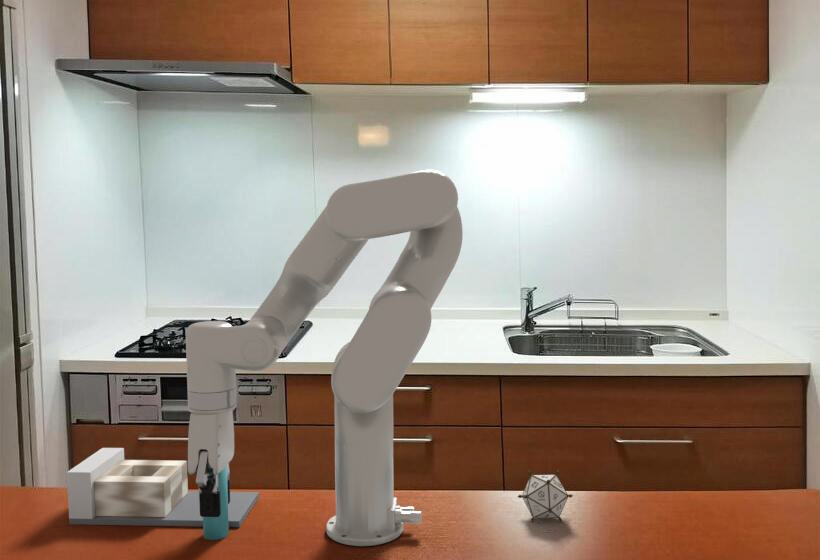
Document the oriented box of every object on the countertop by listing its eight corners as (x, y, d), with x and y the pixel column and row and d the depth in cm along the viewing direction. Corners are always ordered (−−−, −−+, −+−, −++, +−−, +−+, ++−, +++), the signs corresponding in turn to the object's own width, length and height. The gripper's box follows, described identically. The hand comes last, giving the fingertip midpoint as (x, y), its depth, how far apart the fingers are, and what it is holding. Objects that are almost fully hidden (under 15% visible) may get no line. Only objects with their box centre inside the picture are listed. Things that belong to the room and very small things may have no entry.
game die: (549, 535, 129) (575, 484, 132) (560, 538, 121) (588, 483, 123) (503, 508, 130) (530, 457, 133) (511, 509, 122) (540, 455, 124)
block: (187, 492, 137) (186, 460, 136) (165, 516, 126) (164, 482, 125) (123, 491, 137) (122, 459, 137) (95, 515, 126) (94, 481, 126)
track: (259, 497, 137) (258, 449, 136) (239, 527, 124) (238, 474, 123) (104, 495, 139) (102, 447, 138) (69, 524, 126) (66, 472, 125)
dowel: (231, 529, 123) (229, 458, 122) (224, 540, 119) (222, 467, 118) (208, 529, 124) (205, 458, 122) (200, 539, 120) (197, 466, 118)
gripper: (206, 386, 128) (209, 490, 130) (169, 413, 111) (173, 531, 113) (249, 387, 128) (251, 490, 129) (219, 413, 111) (222, 532, 113)
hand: (215, 508), depth 121 cm, fingers open, 4 cm apart
